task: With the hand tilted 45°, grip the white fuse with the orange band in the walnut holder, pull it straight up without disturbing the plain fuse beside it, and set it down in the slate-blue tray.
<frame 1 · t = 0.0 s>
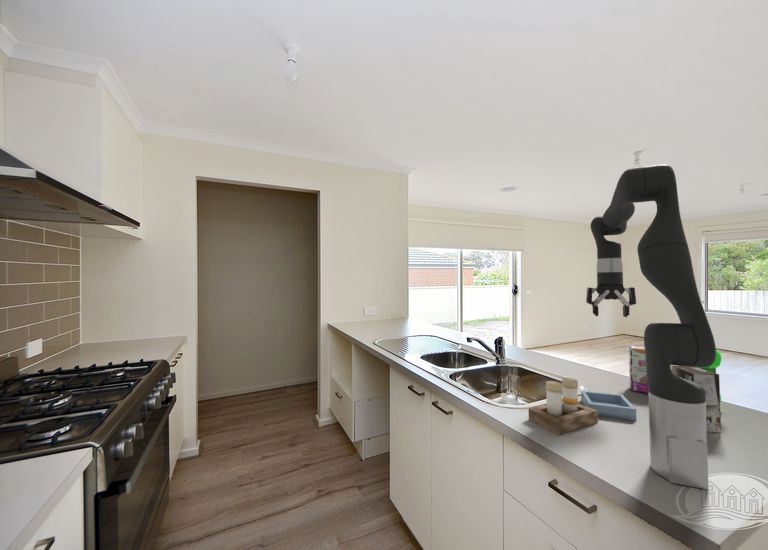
hand: (610, 316, 110), 29 cm above the worktop, tool pointing down, fingers open, 8 cm apart
plastic bottle: (700, 407, 101), on the worktop
coffee box: (695, 425, 90), on the worktop
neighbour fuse: (554, 423, 92), resting in fuse holder
fuse holder: (570, 418, 95), on the worktop
tray: (606, 409, 100), on the worktop
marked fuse: (570, 399, 95), in the fuse holder
candy bar box: (649, 392, 114), on the worktop
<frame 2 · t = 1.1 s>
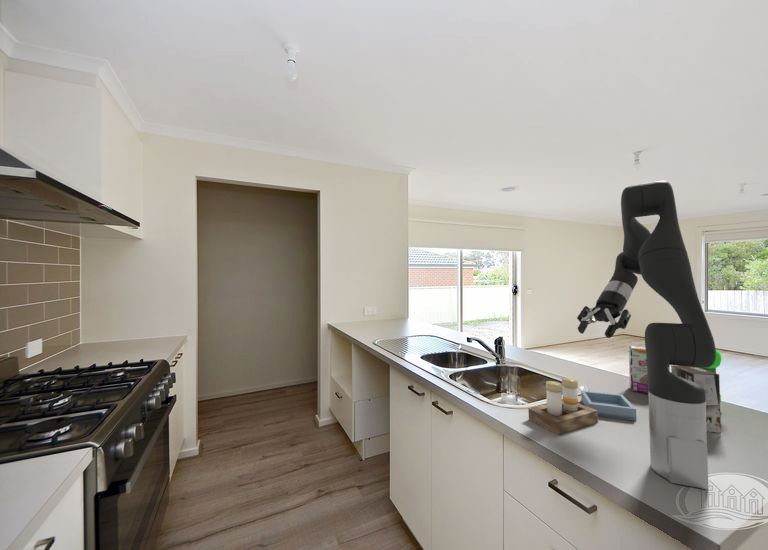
hand: (593, 334, 99), 25 cm above the worktop, tool tilted 45°, fingers open, 8 cm apart
nothing on the worktop moved.
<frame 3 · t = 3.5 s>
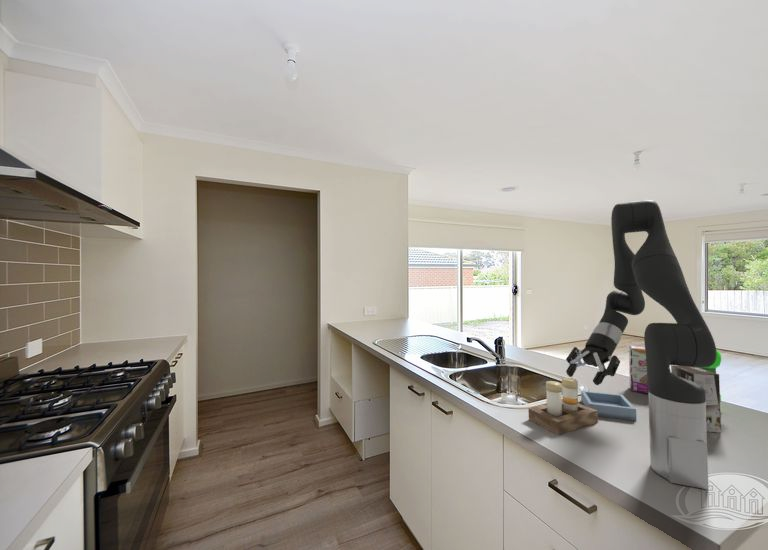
hand: (581, 379, 97), 11 cm above the worktop, tool tilted 45°, fingers open, 8 cm apart
nothing on the worktop moved.
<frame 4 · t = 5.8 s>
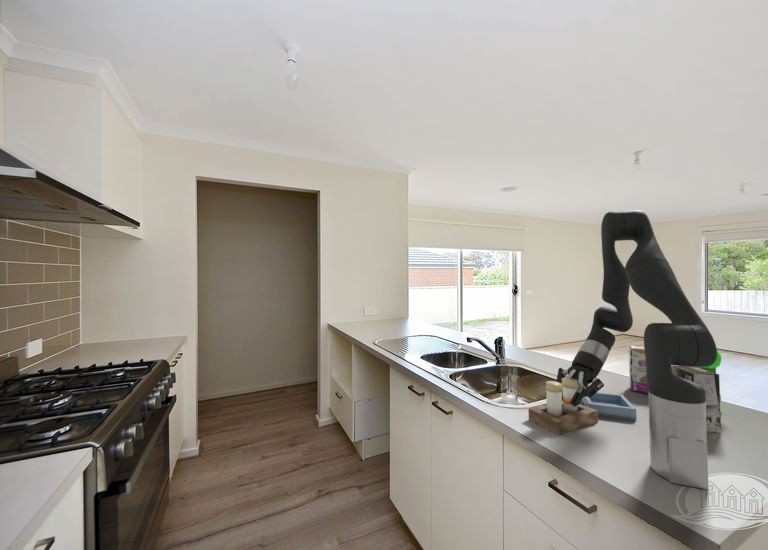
hand: (565, 401, 94), 6 cm above the worktop, tool tilted 45°, fingers closed on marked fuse, 4 cm apart
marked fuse: (570, 399, 95), in the fuse holder, touching gripper
everything else where it was.
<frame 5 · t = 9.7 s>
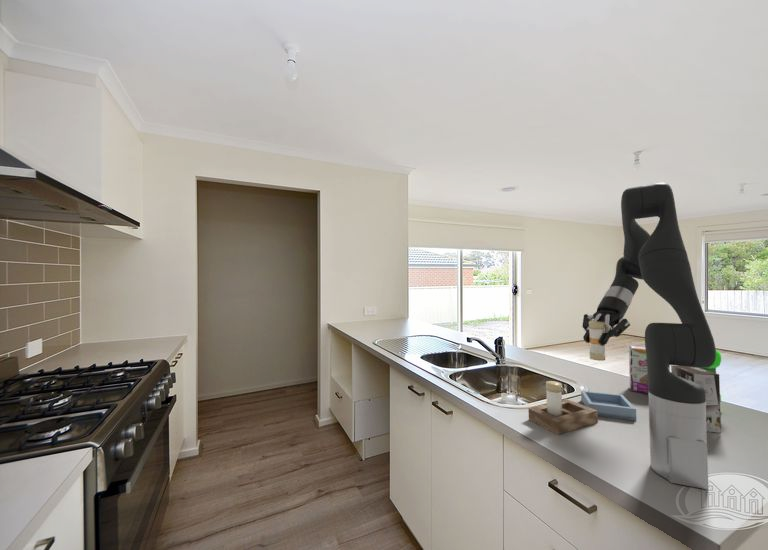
hand: (593, 342, 99), 22 cm above the worktop, tool tilted 45°, fingers closed on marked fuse, 4 cm apart
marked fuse: (596, 340, 100), point 23 cm above the worktop, touching gripper
everything else where it was.
when the fingers open (8 cm above the worktop, at t = 13.5 s): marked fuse drops 1 cm, resting on tray.
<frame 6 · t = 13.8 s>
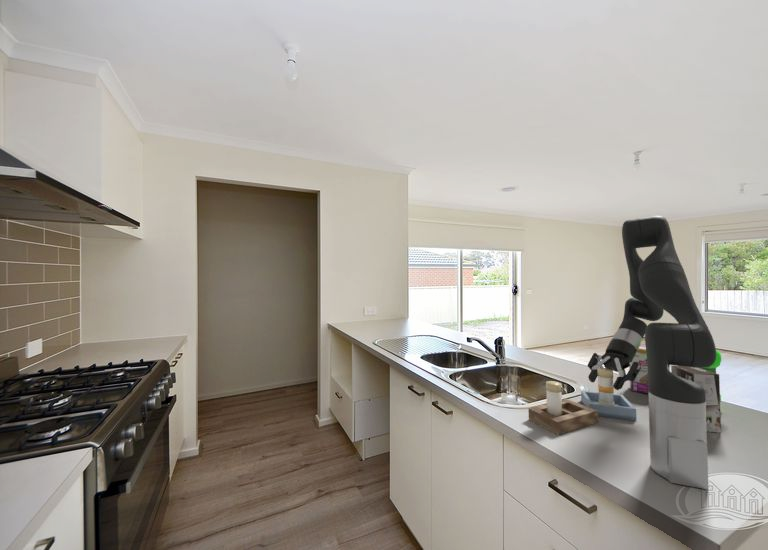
hand: (603, 384, 100), 8 cm above the worktop, tool tilted 45°, fingers open, 7 cm apart
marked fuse: (605, 388, 100), in the tray, point 7 cm above the worktop
everything else where it was.
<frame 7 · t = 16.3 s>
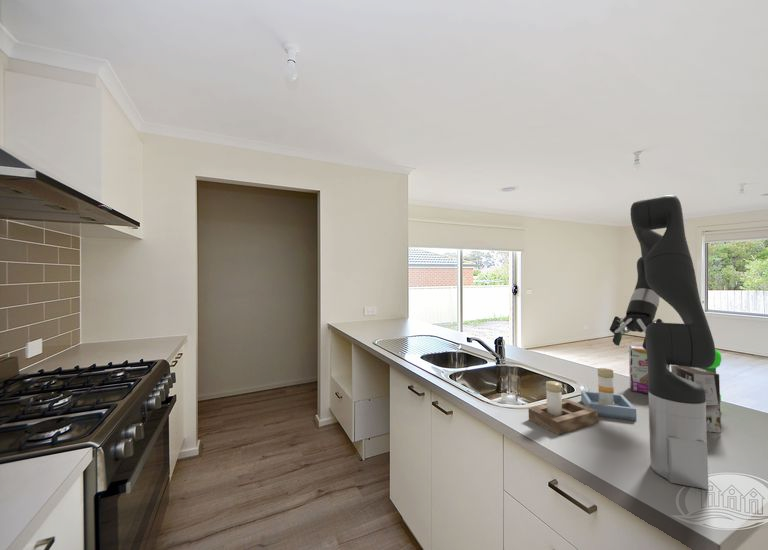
hand: (630, 346, 101), 20 cm above the worktop, tool tilted 35°, fingers open, 8 cm apart
nothing on the worktop moved.
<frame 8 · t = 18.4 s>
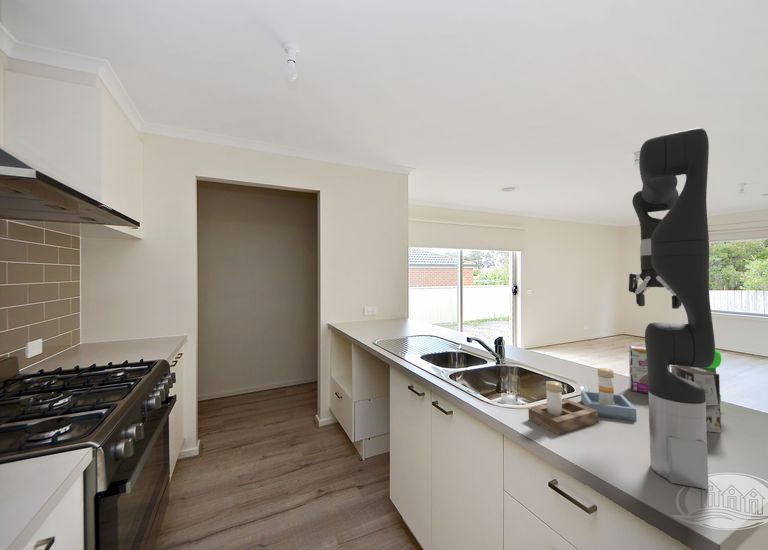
hand: (657, 307, 93), 34 cm above the worktop, tool pointing down, fingers open, 8 cm apart
nothing on the worktop moved.
at the end: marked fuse inside the target area on the tray (0.1 cm from its centre), point 7.0 cm above the tray's base; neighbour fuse moved 0.0 cm from its start; the gripper is holding nothing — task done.
